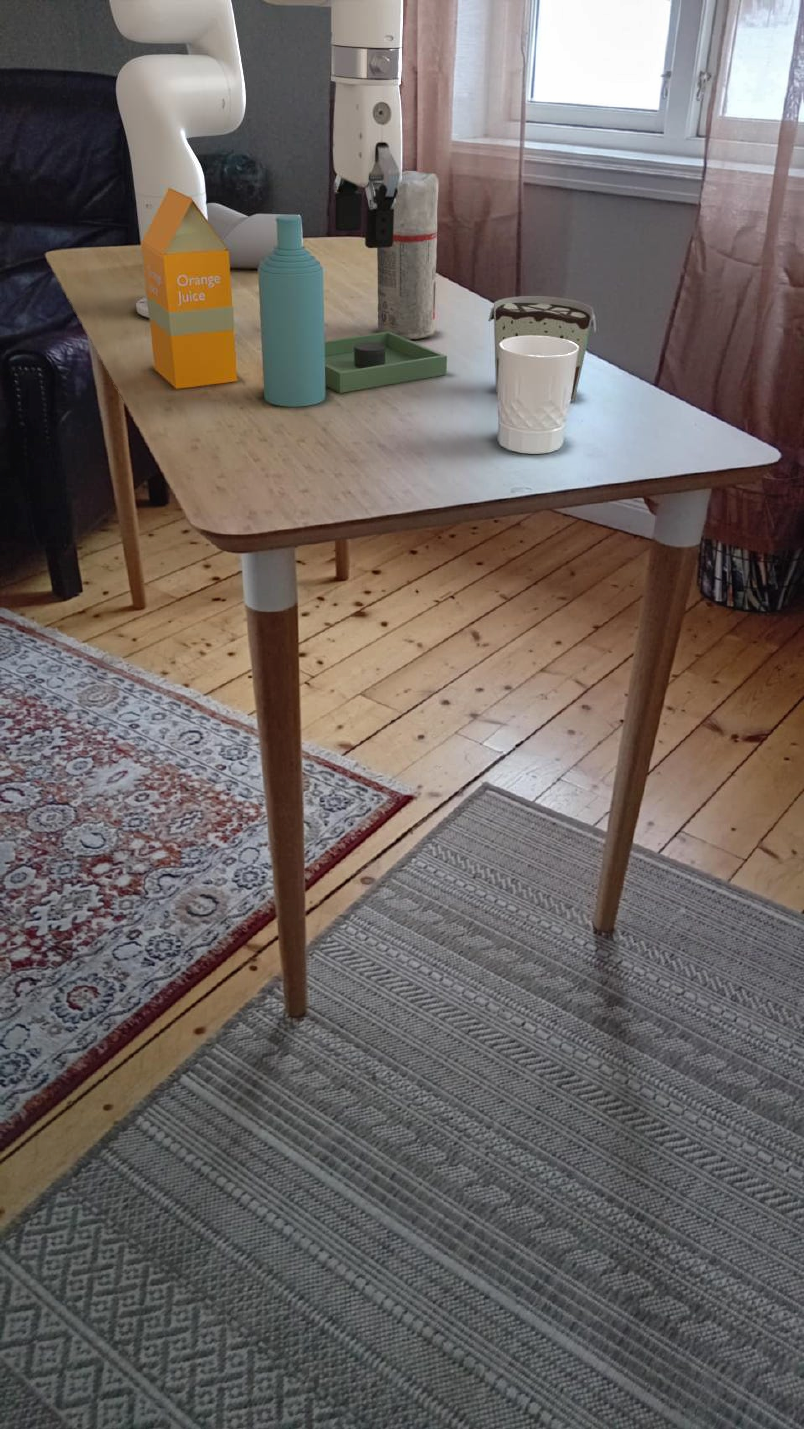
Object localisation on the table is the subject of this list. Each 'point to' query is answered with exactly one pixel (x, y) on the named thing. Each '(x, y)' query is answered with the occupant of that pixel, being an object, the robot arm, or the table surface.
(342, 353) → the tray
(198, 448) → the table surface
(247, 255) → the bent grey cylinder
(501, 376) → the white cup
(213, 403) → the table surface
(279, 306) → the bottle
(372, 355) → the cap
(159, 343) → the orange juice
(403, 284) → the spray can
